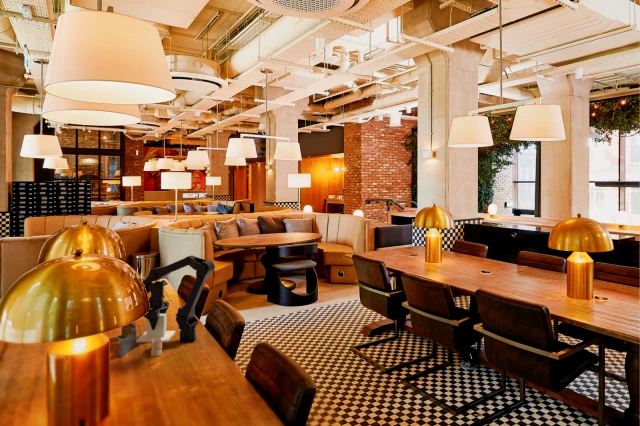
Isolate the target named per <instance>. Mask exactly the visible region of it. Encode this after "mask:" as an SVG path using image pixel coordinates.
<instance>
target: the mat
mask: <svg viewBox="0 0 640 426" xmlns="http://www.w3.org/2000/svg"><path fill="white" fill-rule="evenodd" d="M175 332H176V333H177V330H166V335H165V336H164V337H146V331H144V333H143V334H142V335H140V336H138V337H137V338H136V343H152V339H153V338H161V341H162V343H168V342H169V341H170V340H171V338H173V336H174V335H175V334H176V333H175Z"/></svg>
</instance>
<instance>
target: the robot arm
mask: <svg viewBox="0 0 640 426" xmlns="http://www.w3.org/2000/svg"><path fill="white" fill-rule="evenodd" d="M188 266H189V267H190V268H191V269H193V270H195V280H194V282H193V285H192V287H191V289H190V292H189V295H188V297H187V299H186V302H185V304H184V305H182V306H180V307H178V309H177V313H175V314H174V315H175V321H176V323H177V326H178V328H179V330H180V331H179V343H195V342H196V340H197V339H196V338H198V337H197V326H198V325H199V319H198V318H196V316H195V313H196V305H197V302H198V300H199V298H200V296H201V294H202V291H203V288H204V286H205V285H206V281H208V279H209V277H211V275H212V274H213V273H214V271H215V269H216V265H215V263H214V262H213V261H212V260H206V259H205V258H204V259H203V258H201V257H197V256H195V255H193V254H192V255H189V256H186V257H184V258H182V259H179V260H177V261H175V262H172V263H171V264H168V265H163V266H160V267H156V268H152V269H150V270H149V271H148V274H147V276H146V278H141V279H142V280H143V283H144V285H145V288H146V291H147V294H146V295H148V294H150V296H149V297H148V299H149V303H150V309H149V311H148V313H147V314H146V315H144V314H143V318H145V319H146V320H147V319H148V320H149V322H150V325H151V328H152V330H155V328H156V325H157V322H158V319H159V317H160V316H159V314H167V312H168V309H169V308H170V302H169V301H168V300H167V301H166V300H164V299H165V298H166V295H164V288H165V287H166V286H168V285H169V283H168V282H167V281H166V280H165V278H167V276H169V275H170V274H172V273H174V272H176V271H179V270H181V269H183V268H185V267H188ZM162 279H163V280H162Z"/></svg>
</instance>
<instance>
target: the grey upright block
mask: <svg viewBox="0 0 640 426" xmlns="http://www.w3.org/2000/svg"><path fill="white" fill-rule="evenodd" d="M159 316H160V317H159V319H158V322H157V325H156V328H155V330H152V328H151V325H150V322H149V320H148V319H147V318H146V330H145V332H146V337H164V336H165V335H166V331H167V324H168V323H167V321H168V320H167V313H166V314H159Z"/></svg>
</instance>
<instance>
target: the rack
mask: <svg viewBox="0 0 640 426" xmlns="http://www.w3.org/2000/svg"><path fill="white" fill-rule="evenodd" d="M137 330H138V329H136V328H135V329H133V330H132V333H131V334H130V335H128V336H127V337H126V338H125V339H120V341H119V345H118V346H119V350H118V351H119V355H118V356H119V358H123V357H124V356H125V355H126V354H127V353H129V352H130V350H132V349H133V348H134V347H135V346H136V345H137V342H136V340H137V337H136V336H137V335H138V334H137V333H138V331H137Z"/></svg>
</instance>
